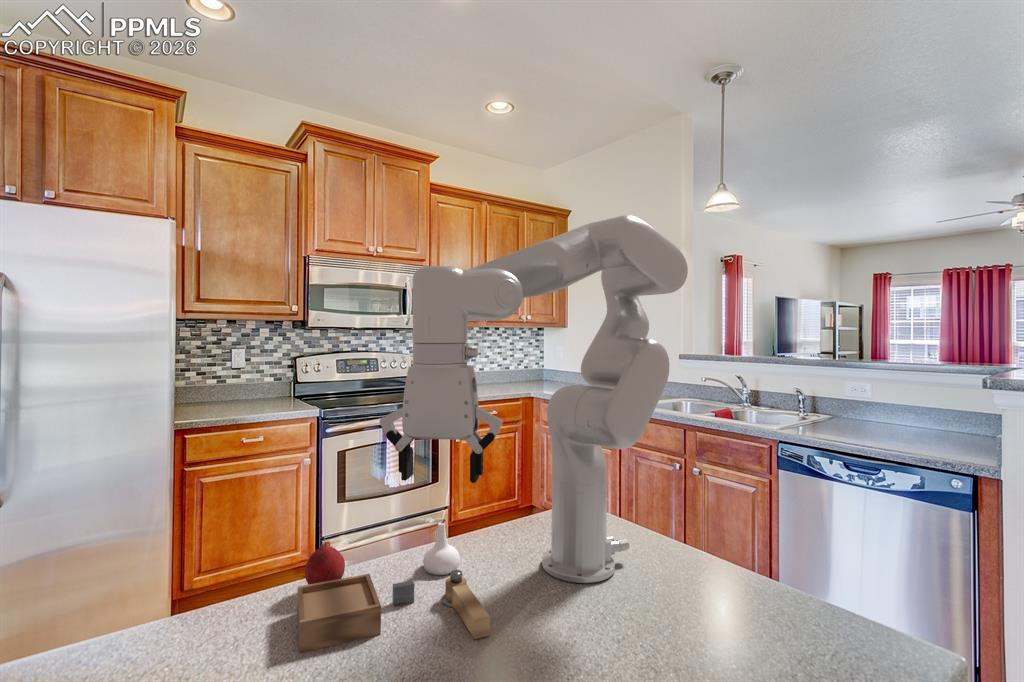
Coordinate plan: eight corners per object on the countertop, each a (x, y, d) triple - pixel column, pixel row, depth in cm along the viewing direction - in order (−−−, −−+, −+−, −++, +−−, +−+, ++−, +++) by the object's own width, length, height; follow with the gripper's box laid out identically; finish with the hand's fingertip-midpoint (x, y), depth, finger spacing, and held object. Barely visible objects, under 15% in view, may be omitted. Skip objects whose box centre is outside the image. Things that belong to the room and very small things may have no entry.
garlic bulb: (466, 568, 88) (469, 521, 88) (445, 580, 82) (448, 530, 83) (437, 561, 90) (440, 515, 91) (414, 571, 85) (418, 523, 86)
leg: (442, 594, 77) (442, 578, 77) (462, 590, 78) (462, 574, 78) (470, 640, 65) (470, 620, 65) (493, 634, 67) (493, 615, 67)
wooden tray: (369, 598, 76) (369, 573, 76) (380, 634, 67) (381, 605, 67) (297, 612, 72) (297, 586, 72) (299, 652, 63) (299, 622, 63)
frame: (463, 588, 80) (463, 562, 79) (474, 603, 75) (474, 576, 75) (392, 602, 75) (392, 575, 75) (399, 620, 70) (399, 591, 70)
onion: (331, 604, 74) (331, 550, 74) (296, 600, 75) (296, 547, 75) (351, 585, 80) (351, 535, 80) (318, 582, 81) (319, 532, 81)
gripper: (505, 355, 72) (506, 473, 72) (390, 355, 74) (391, 469, 75) (497, 357, 65) (498, 489, 65) (369, 357, 67) (370, 484, 67)
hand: (440, 478), depth 70 cm, fingers open, 9 cm apart
